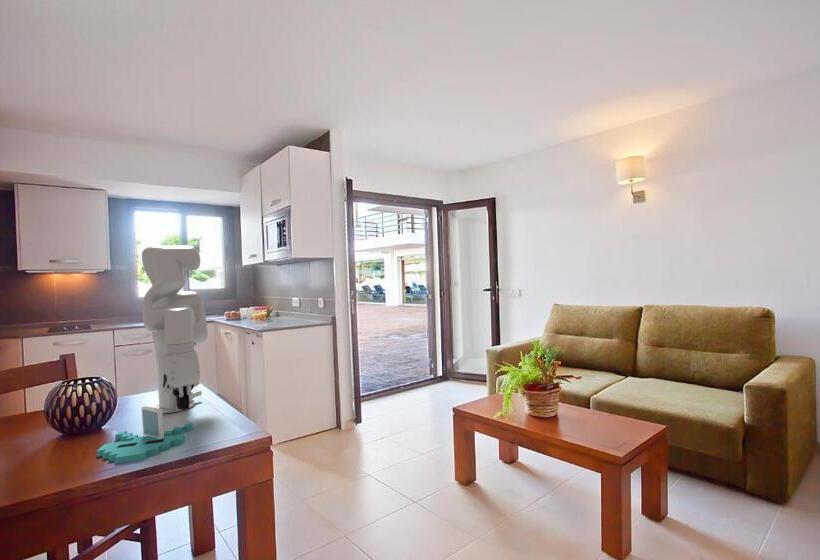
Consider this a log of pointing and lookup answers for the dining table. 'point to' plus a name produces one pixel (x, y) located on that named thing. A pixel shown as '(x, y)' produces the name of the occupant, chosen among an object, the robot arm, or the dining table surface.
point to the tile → (152, 422)
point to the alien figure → (141, 445)
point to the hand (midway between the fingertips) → (183, 408)
